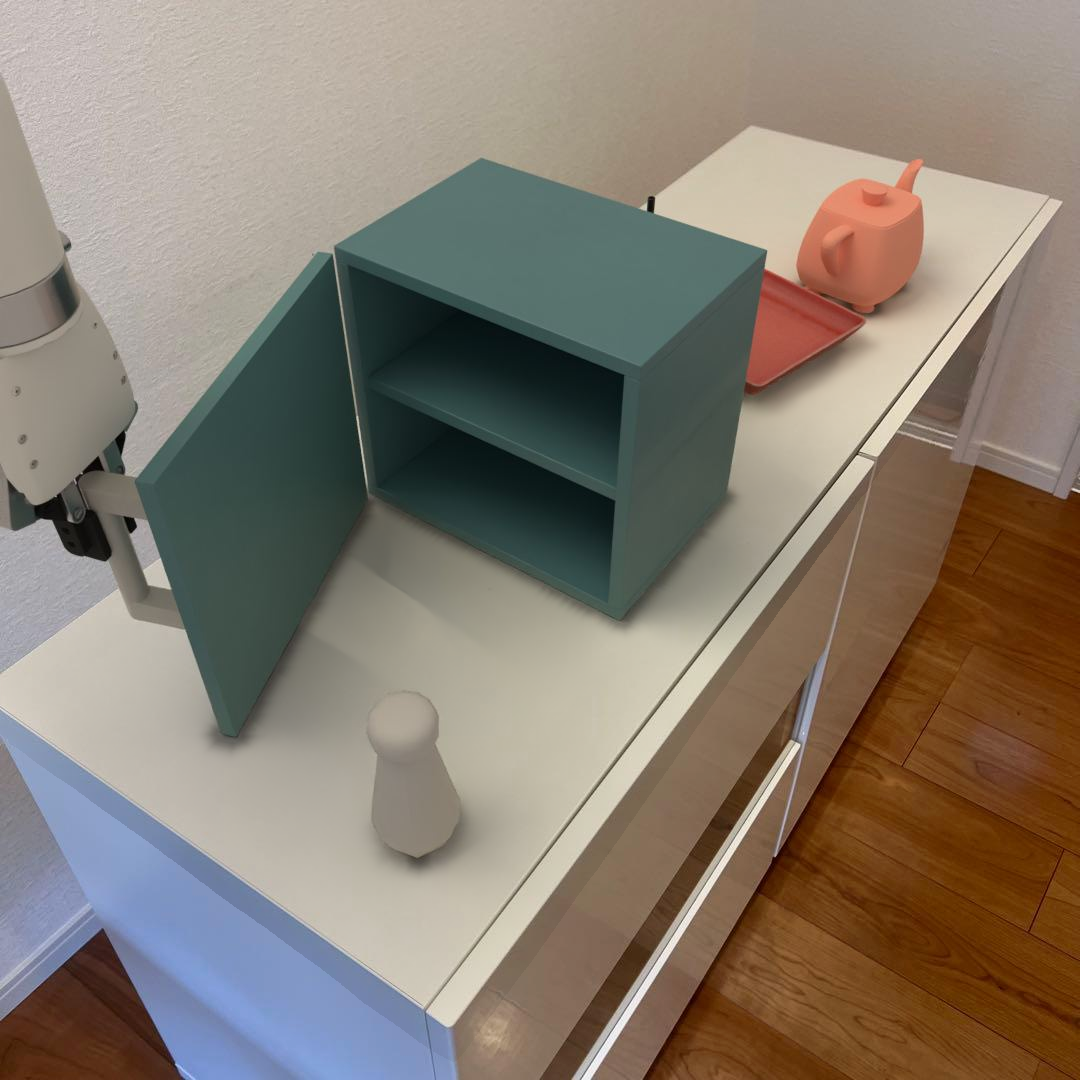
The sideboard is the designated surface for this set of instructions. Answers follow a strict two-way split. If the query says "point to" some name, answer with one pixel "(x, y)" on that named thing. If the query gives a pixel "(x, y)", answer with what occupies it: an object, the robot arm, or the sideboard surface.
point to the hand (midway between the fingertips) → (102, 538)
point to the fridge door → (247, 497)
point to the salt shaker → (410, 775)
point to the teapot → (864, 241)
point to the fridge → (549, 373)
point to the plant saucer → (793, 330)
